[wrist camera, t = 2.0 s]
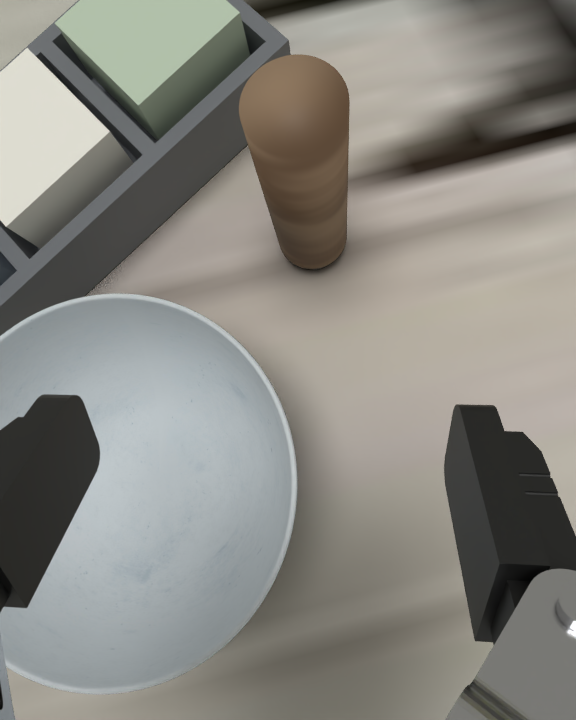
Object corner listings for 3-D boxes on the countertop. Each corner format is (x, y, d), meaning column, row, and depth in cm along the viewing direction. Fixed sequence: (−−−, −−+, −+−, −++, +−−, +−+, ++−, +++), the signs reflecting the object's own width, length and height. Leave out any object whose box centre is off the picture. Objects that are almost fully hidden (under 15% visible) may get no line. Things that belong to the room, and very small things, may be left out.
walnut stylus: (267, 243, 29) (216, 107, 17) (314, 199, 29) (295, 34, 17) (312, 288, 28) (291, 177, 17) (360, 242, 29) (372, 101, 17)
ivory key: (-23, 174, 29) (-73, 137, 25) (64, 94, 29) (27, 47, 26) (47, 253, 28) (6, 226, 24) (138, 170, 28) (109, 131, 24)
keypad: (-132, 285, 31) (-210, 259, 27) (184, -2, 32) (159, -73, 28) (-36, 407, 29) (-103, 401, 25) (296, 99, 30) (288, 40, 26)
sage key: (88, 72, 29) (54, 22, 26) (174, -6, 29) (151, -65, 26) (163, 147, 28) (138, 105, 24) (252, 65, 28) (239, 12, 25)
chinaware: (-11, 555, 28) (-143, 597, 20) (97, 296, 30) (13, 246, 22) (248, 672, 26) (209, 768, 18) (349, 385, 27) (353, 363, 20)
